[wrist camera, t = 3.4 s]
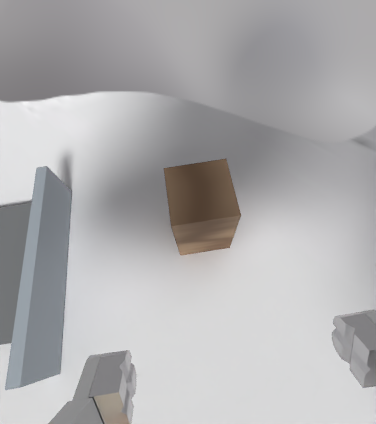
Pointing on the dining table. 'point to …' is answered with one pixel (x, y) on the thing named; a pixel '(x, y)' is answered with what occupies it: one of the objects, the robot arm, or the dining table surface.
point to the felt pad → (11, 263)
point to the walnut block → (202, 206)
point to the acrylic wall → (42, 285)
